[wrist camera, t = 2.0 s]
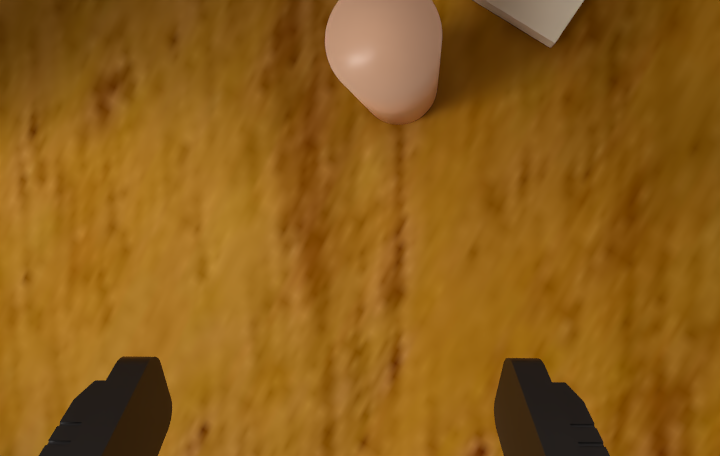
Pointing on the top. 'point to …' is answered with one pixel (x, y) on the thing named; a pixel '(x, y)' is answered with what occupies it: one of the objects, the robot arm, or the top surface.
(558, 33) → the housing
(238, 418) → the top surface
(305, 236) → the top surface
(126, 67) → the top surface
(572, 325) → the top surface
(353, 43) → the pink tapered cylinder
